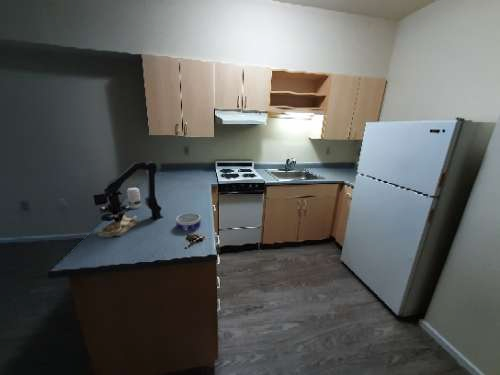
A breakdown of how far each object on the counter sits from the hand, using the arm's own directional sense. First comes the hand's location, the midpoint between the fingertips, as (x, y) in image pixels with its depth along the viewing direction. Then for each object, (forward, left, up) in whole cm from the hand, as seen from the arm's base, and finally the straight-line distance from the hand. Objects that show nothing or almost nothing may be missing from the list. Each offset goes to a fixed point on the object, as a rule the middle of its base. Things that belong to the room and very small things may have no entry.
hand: (118, 224), depth 136 cm
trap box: (-2, -1, -2) cm, 3 cm away
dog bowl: (-32, -29, -2) cm, 44 cm away
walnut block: (-2, +4, -1) cm, 5 cm away
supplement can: (+25, -22, -2) cm, 34 cm away
